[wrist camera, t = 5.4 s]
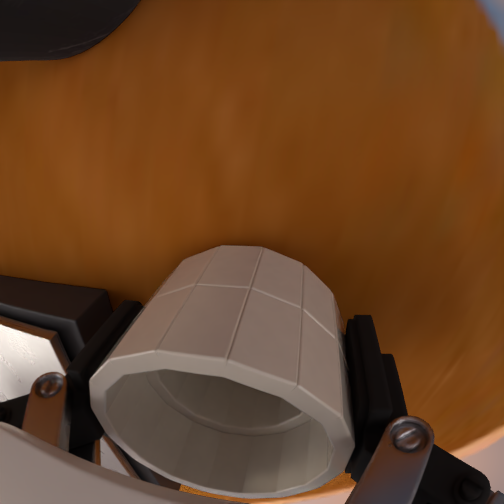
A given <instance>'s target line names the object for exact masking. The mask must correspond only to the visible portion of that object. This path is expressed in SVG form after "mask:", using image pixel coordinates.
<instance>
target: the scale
mask: <svg viewBox="0 0 504 504" xmlns="http://www.w3.org/2000/svg"><path fill="white" fill-rule="evenodd" d="M112 313H113V312H112V309H111V305H110V302H109V298H108V294H107V291H106V290H103V289H95V288H86V287H78V286H70V285H63V284H55V283H48V282H41V281H34V280H27V279H21V278H14V277H8V276H2V275H0V316H4V317H7V318H10V319H13V320H16V321H20V322H23V323H26V324H30V325H33V326H37V327H41V328H44V329H48V330H52V331H56V332H58V334H59V337H60V339H61V342H62V344H63V346H64V348H65V351H66V353H67V355H68V357H69V359H70V362H72V361H73V360H74V359H75V357H76V356H77V355H78V354H79V353H80V351H81V350H82V349H83V348H84V347H85V345H86V344H87V343H88V342H89V341H90V339H91V338H92V337H93V336H94V335H95V333H96V332H97V331H98V330H99V329H100V327H101V326H102V325H103V324H104V323H105V322H106V320H107V319H108V318H109V317H110V316H111V315H112ZM117 446H118V447H119V449H120V450H121V452H122V453H123V455H124V456H125V458H126V459H127V461H128V462H129V464H130V465H131V466H132V468H133V469H134V471H135V472H136V473H137V475H138V476H139V477H140V479H141V480H142V481H145V482H149V483H152V484H155V485H159V486H163V487H166V488H170V489H174V490H178V491H179V489H180V486H181V483H178V482H175V481H173V480H170V479H168V478H166V477H164V476H162V475H160V474H158V473H157V472H155V471H153V470H151V469H150V468H148V467H146V466H144V465H143V464H141V463H140V462H138V461H136V460H135V459H133V458H132V457H131V456H130V455H129V454H128V453H126V452H125V451H124V450H123V449H122V448H121V447H120V446H119V445H118V444H117Z"/></svg>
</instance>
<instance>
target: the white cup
mask: <svg viewBox="0 0 504 504" xmlns="http://www.w3.org/2000/svg"><path fill="white" fill-rule="evenodd" d="M89 388H90V405H91V409H92V411H93V412H94V414H95V416H96V417H97V419H98V421H99V422H100V424H101V426H102V427H103V429H104V431H105V432H106V434H108V436H109V437H110V438H111V439H112V440H113V441H114V442H115V443H116V444H118V445H119V446H120V447H121V448H122V449H123V450H124V451H125V452H126V453H128V454H129V455H130V456H131V457H132V458H133V459H135V460H136V461H138V462H140V463H141V464H143V465H144V466H146V467H148V468H150V469H151V470H153V471H155V472H157V473H158V474H160V475H162V476H164V477H166V478H168V479H170V480H173V481H175V482H178V483H181V484H183V485H186V486H189V487H192V488H195V489H198V490H201V491H204V492H208V493H213V494H219V495H225V496H232V497H239V498H278V497H287V496H291V495H295V494H299V493H302V492H306V491H310V490H313V489H317V488H319V487H321V486H322V485H324V484H326V483H327V482H329V481H330V480H332V479H333V478H335V477H336V476H338V475H339V474H340V473H342V472H343V471H344V470H345V468H346V466H347V464H348V462H349V459H350V457H351V455H352V452H353V450H354V448H355V433H354V418H353V406H352V394H351V383H350V374H349V364H348V355H347V347H346V339H345V331H344V323H343V320H342V317H341V314H340V311H339V308H338V306H337V303H336V300H335V297H334V294H333V293H332V292H331V290H330V289H329V288H328V287H327V286H326V285H325V284H324V283H323V282H322V281H321V280H320V279H319V278H318V277H317V276H316V275H315V274H314V273H313V272H312V271H311V270H310V269H309V268H308V267H307V266H305V265H303V264H302V263H301V262H298V261H296V260H294V259H291V258H289V257H286V256H284V255H282V254H279V253H277V252H274V251H272V250H269V249H267V248H263V247H261V246H228V245H221V246H220V247H215V248H212V249H210V250H207V251H205V252H202V253H199V254H197V255H194V256H191V257H189V258H186V259H184V260H183V261H182V262H181V263H180V264H179V265H178V266H177V267H176V268H175V269H174V271H173V272H172V273H171V274H170V275H169V276H168V277H167V278H166V279H165V280H164V281H163V283H162V284H161V285H160V286H159V288H158V289H157V290H156V292H155V293H154V294H153V295H152V297H151V298H150V299H149V300H148V302H147V303H146V304H145V306H144V307H143V308H142V309H141V311H140V312H139V313H138V315H137V316H136V317H135V318H134V320H133V321H132V323H131V324H130V325H129V326H128V328H127V329H126V330H125V332H124V333H123V334H122V336H121V337H120V338H119V340H118V341H117V342H116V344H115V345H114V346H113V348H112V349H111V350H110V352H109V353H108V354H107V356H106V357H105V359H104V360H103V361H102V363H101V364H100V365H99V367H98V368H97V369H96V371H95V372H94V374H93V375H92V376H91V378H90V380H89Z"/></svg>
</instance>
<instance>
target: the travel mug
mask: <svg viewBox="0 0 504 504" xmlns="http://www.w3.org/2000/svg"><path fill="white" fill-rule="evenodd" d="M139 1H140V0H0V61H24V60H57V59H63V58H67V57H71V56H74V55H76V54H79V53H81V52H83V51H85V50H87V49H89V48H91V47H92V46H94V45H95V44H97V43H98V42H100V41H101V40H102V39H104V38H105V37H106V36H108V35H109V34H110V33H111V32H112V31H113V30H115V29H116V28H117V27H118V26H119V25H120V24H121V23H122V22H123V21H124V20H125V19H126V18H127V17H128V15H129V14H130V13H131V12H132V11H133V9H134V8H135V7H136V6H137V4H138V3H139Z"/></svg>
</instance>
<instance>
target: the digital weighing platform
mask: <svg viewBox="0 0 504 504" xmlns="http://www.w3.org/2000/svg"><path fill="white" fill-rule="evenodd" d="M70 364H71V362H70V359H69V357H68V355H67V353H66V351H65V348H64V346H63V344H62V342H61V339H60V337H59V334H58V332H56V331H52V330H48V329H44V328H41V327H37V326H33V325H30V324H26V323H23V322H20V321H16V320H13V319H10V318H7V317H4V316H0V402H3V401H7V400H10V399H14V398H17V397H20V396H24V395H27V394H30V390H31V387H32V384H33V382H34V381H35V380H36V379H37V378H38V377H39V376H41V375H43V374H45V373H48V372H59V373H62V374H63V375H64V376H65V375H66V374H67V373H68V372H67V370H66V369H67V367H68V366H69V365H70ZM100 447H101V466H102V467H104V468H107V469H110V470H112V471H115V472H118V473H121V474H124V475H127V476H130V477H133V478H136V479H139V480H141V479H140V477H139V476H138V475H137V473H136V472H135V471H134V469H133V468H132V466H131V465H130V464H129V462H128V461H127V459H126V458H125V456H124V455H123V453H122V452H121V450H120V449H119V447H118V446H117V444H116V443H115V442H114V441H113V440H112V439H111V438H109V437H106V436H104V435H103V436H102V438H101V439H100Z"/></svg>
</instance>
